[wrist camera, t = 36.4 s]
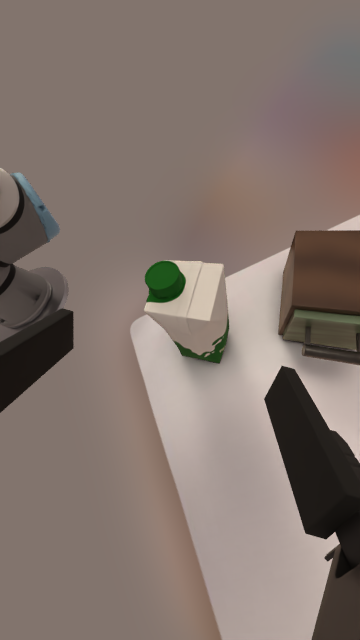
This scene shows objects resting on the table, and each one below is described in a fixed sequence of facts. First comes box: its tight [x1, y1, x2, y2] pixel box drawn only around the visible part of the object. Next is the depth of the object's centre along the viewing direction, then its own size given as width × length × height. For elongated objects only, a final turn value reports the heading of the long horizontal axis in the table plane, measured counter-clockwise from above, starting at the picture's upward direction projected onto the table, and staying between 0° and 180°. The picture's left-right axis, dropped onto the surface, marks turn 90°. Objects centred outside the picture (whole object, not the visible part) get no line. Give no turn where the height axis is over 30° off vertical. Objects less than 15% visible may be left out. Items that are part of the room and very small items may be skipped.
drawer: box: [283, 309, 360, 365], centre depth 32 cm, size 17×11×8 cm, turn 165°
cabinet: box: [278, 231, 360, 335], centre depth 33 cm, size 14×12×10 cm
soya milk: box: [144, 260, 229, 363], centre depth 31 cm, size 9×9×20 cm
